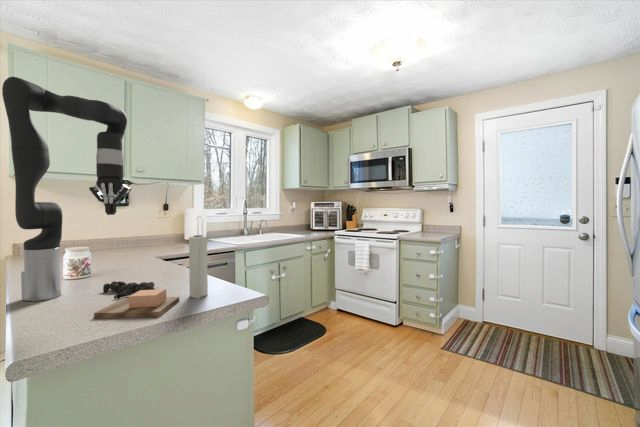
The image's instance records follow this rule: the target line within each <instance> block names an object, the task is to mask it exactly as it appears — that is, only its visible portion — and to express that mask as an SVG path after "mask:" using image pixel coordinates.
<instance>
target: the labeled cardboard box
mask: <svg viewBox="0 0 640 427" xmlns="http://www.w3.org/2000/svg"><path fill="white" fill-rule="evenodd" d="M166 297H167V289H166V288H163V289H162V288H161V289H160V288H159V289H155V290H140V291H138V292H136V293H132V294H131V295H129V296H128V298H129V308H140V307H157V306H158V305H160V304H161V303H163V302H164V301H166V300H167V299H166Z"/></svg>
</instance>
